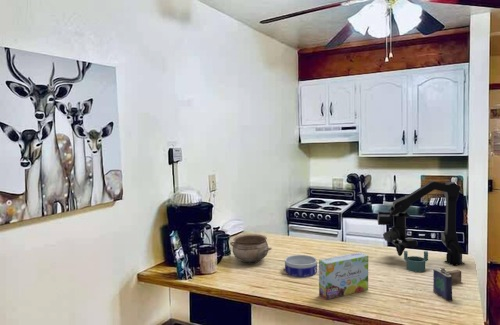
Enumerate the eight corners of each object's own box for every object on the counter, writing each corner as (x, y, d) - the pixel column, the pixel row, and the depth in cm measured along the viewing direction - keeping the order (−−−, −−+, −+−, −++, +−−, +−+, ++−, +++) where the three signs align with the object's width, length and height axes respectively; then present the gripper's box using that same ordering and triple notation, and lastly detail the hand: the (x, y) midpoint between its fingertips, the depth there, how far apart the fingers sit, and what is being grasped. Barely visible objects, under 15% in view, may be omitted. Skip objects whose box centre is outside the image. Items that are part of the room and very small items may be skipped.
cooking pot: (220, 263, 199) (219, 240, 198) (241, 253, 215) (240, 231, 214) (262, 271, 186) (261, 246, 185) (280, 259, 201) (279, 236, 201)
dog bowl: (293, 264, 194) (292, 252, 194) (321, 269, 186) (321, 256, 186) (279, 274, 181) (279, 262, 181) (310, 279, 173) (309, 266, 173)
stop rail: (457, 280, 165) (457, 269, 165) (461, 282, 164) (461, 271, 163) (435, 285, 162) (435, 273, 162) (438, 286, 160) (438, 275, 160)
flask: (431, 291, 156) (431, 263, 155) (438, 290, 157) (439, 263, 156) (447, 301, 146) (447, 272, 145) (455, 301, 147) (455, 271, 146)
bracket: (429, 269, 180) (429, 251, 179) (417, 273, 175) (417, 255, 175) (413, 264, 187) (413, 247, 187) (401, 268, 183) (401, 250, 182)
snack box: (326, 300, 151) (325, 263, 150) (318, 295, 156) (317, 259, 155) (369, 290, 159) (368, 254, 158) (360, 285, 164) (359, 251, 163)
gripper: (374, 222, 197) (374, 252, 198) (398, 231, 179) (398, 263, 181) (392, 220, 201) (392, 249, 202) (418, 228, 183) (418, 260, 184)
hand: (399, 255), depth 192 cm, fingers closed
